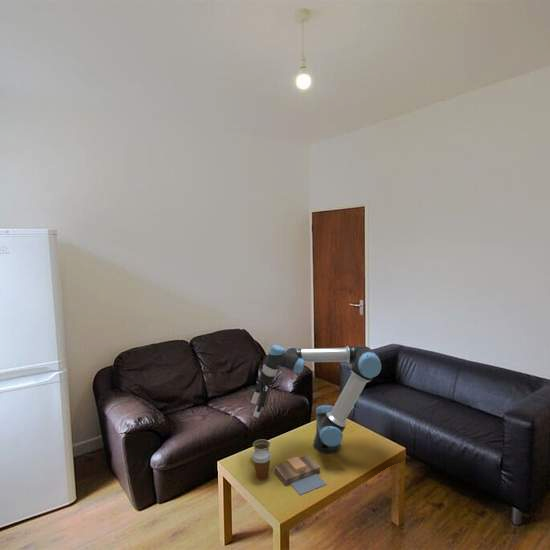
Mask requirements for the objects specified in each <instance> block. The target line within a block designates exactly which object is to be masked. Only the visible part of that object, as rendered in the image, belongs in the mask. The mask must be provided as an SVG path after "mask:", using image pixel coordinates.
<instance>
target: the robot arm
mask: <svg viewBox="0 0 550 550" xmlns="http://www.w3.org/2000/svg"><path fill="white" fill-rule="evenodd" d="M335 362H339V363H340V362H341V363H342V362H343V363H344V362H346V363H347V364H353V365H352V366H351V368H350V372H351V374H350V376H349V378H348V380H347V382H346V383H345V385H344V387H343V389H342V391H341V392H340V395H339V396H338V398H337V400H336V402H335V403H334V405H329V404H323V405H319V406H317V407H316V410H315V415H316V416H315V421H316V424H315V426H316V427H315V428H316V433H315V436H314V439H313V448H314V449H315V450H316V451H317V452H320V453H324V454H333V453H336V452H337V451H340V449H341V443H342V442H343V438H344V437H343V432H344V430H345V429H346V427H347V422H346V421H347V419H348V417H349V415H350V414H351V411H352V409H354V406H355V404H356V402H357V400H358V398H359V397H360V395H361V394H362V392H363V390H364V389H365V386H366V384H367V383H369V382H371V381H372V380H373V378H375V377H377V376H378V375H379V374H380V373H381V370H382V362H381V359H380V358H379V356H378V355H377V353H375V352H374V351H373V349H372V348H370V347H369V346H367V345H347V346H346V347H325V348H320V347H318V348H297V347H294V346H289V347H288V348H287V349H285V348H284V347H283V346H281V345H279V344H272V346H271V347H270V348H269V352H268V354H267V357H266V359H265V363H264V365H262V370H261V372H260V374H259V381H258V382H257V384H256V386H255V387H254V389H255V390H254V394H253V396H252V398H251V402H250V403H251V404H253V405H256V407H255V409H254V412H253V415H252V416H253V417H255V418H260V417H259V416H260V414H261V412H262V408H264V407H265V405H266V400H267V397H268V392H269V390H270V387H269V385H270V384H273V382H274V381H275V378H276V375H277V373H278V370H279V368H283V369H286V370H289V371H291V372H293V373H297V374H301V373H302V372H303V369H304V367H305V363H335Z"/></svg>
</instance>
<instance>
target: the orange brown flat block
mask: <svg viewBox="0 0 550 550" xmlns="http://www.w3.org/2000/svg"><path fill="white" fill-rule="evenodd" d="M299 458H300V457H298V456H293V457H291V458H288V459H286V462H287V464H288V465H289V466H290V467H291V468H292V469H293V470H294V471H295V472H296V473H298V472H300V471H303V470H306V465H305V464H304V463H303V462H302V461H301V460H300V459H299Z"/></svg>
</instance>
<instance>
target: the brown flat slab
mask: <svg viewBox="0 0 550 550" xmlns="http://www.w3.org/2000/svg"><path fill="white" fill-rule="evenodd" d="M298 458H299V459H300V460H301V461H302V462H303V463H304V464H305V465H306V470H303V471H300V472H298V473H296V472H295V471H294V470H293V469H292V468H291V467H290V466H289V465H288V464H287V461H286V462H283V463H281V464H278V465H275V466H274V469H273V470H274V473H275V474H276V476H277V477H278V478H279V479H280V480H281V481H282V482H281V483H283V484H284V486H289V485H291V484H290V483H293V482H296V481H298V480H301V479H303V478H306V477H309V476H311V475H314V474H317V475H319V474H321V467H320V466H319V465H318V463H316V462H315V461H314V460H313V459H312V458H311V457H310V456H309V455H308V454H306V455H304V456H303V455H302V456H301V457H298Z"/></svg>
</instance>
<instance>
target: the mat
mask: <svg viewBox="0 0 550 550" xmlns="http://www.w3.org/2000/svg"><path fill="white" fill-rule="evenodd" d="M289 485H290V486H291V487H292V488H293V490H295V492H296V493H297V494H298V495H299V496H302V495H305V494H307V493H309V492H312V491H314V490H317V489H319V488H321V487H325V486H327V483H326V482H325V481H324V480H323V479H322V478H321V477H320V476H319V474H314V475H311V476H309V477H306V478H303V479H301V480H298V481H296V482H293V483H290V484H289Z"/></svg>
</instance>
